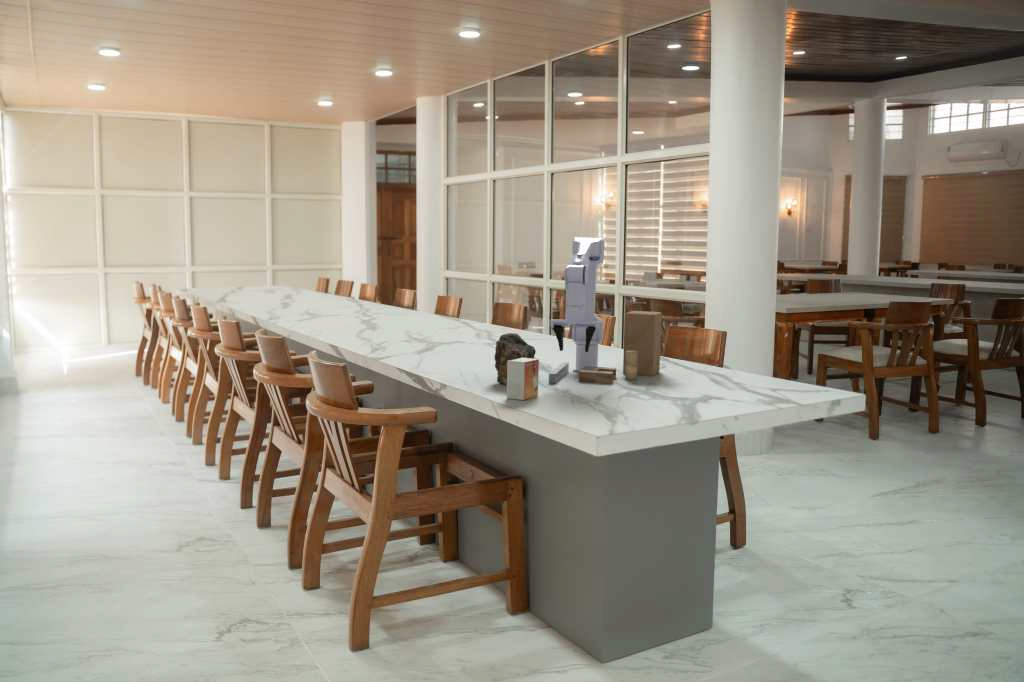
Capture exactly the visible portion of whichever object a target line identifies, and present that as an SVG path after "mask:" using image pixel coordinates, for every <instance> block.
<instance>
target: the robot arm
mask: <svg viewBox="0 0 1024 682" xmlns="http://www.w3.org/2000/svg"><path fill="white" fill-rule="evenodd" d="M571 250H572V258H571V261H570V263H569V265H567V266H565V267H564V273H563V274H564V277H563V278H564V287H565V288H564V290H565V313H564V314H565V316H564V317H565V318H564V319H554V318H551V319H550V322H549V323H550V324H549V325H550V327H553V328H552V329H553V332H554V334H555V336H556V339H557V342H558V348H559V352H562V351H563V350H564V330H565V327H569V328H570V327H571V328H572V329H571V339H572V341H573V342H574V344H575V345H576V347H575V367H574V368H573V369H572V372H580V371H581V370H582V369H583V368H584V367H585V366H590V367H599V366H598V363H599V362H598V361H599V359H598V358H599V344H601V343H603V339H604V322H603V319H602V317H599V316H598V315H597V314H596V313H595V312H596V294H597V293H596V289H597V286H596V285H597V270H598V265H600V264H602V263H604V260H605V240H604V238H603V237H577V236H576V237H574V238H573V239H572V248H571Z"/></svg>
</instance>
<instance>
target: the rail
mask: <svg viewBox="0 0 1024 682" xmlns="http://www.w3.org/2000/svg"><path fill="white" fill-rule="evenodd" d="M569 367H570V362H561V363H560V364H559V365H558V366H556V368H554V369H553V370H552V371H550V373H548V384H553V385H554V384H555V385H556V384H557V383H558V382H559V381H560V380H561V379H562V378H564V377H565V376H566V375H567V374H568V373H569V372H570V371H569V370H570V369H569Z"/></svg>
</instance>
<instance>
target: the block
mask: <svg viewBox="0 0 1024 682" xmlns="http://www.w3.org/2000/svg"><path fill="white" fill-rule="evenodd" d="M616 378H617V367H610V366H609V367H604V366H597V367H590V366H585V367H584V368H583V369H582V370H581V371H578V382H579V383H581V382H582V383H598V384H613V382H614V380H615V379H616Z"/></svg>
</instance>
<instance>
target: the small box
mask: <svg viewBox="0 0 1024 682" xmlns="http://www.w3.org/2000/svg"><path fill="white" fill-rule="evenodd" d="M539 360H540V359H538V358H534V359H532V358H519V359H515V360H508V361H507V386H506V398H507V399H509V400H511V399H512V400H519V401H524V400H529V399H532V398H537V397H538V396H539V372H540V371H539V369H540V366H539V365H540V363H539V362H540V361H539Z"/></svg>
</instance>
